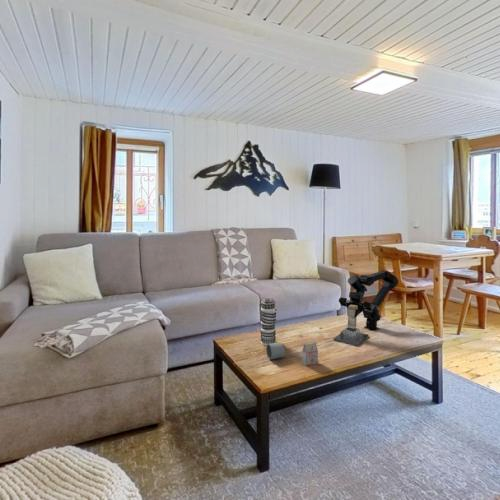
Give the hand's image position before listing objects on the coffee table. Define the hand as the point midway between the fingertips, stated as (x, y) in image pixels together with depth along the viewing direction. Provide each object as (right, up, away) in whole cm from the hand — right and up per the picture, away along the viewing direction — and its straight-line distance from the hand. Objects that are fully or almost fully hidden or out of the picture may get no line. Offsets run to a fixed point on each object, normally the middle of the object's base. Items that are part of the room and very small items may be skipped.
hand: (351, 316), depth 188 cm
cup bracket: (+1, -13, +3) cm, 13 cm away
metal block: (+1, -6, +2) cm, 7 cm away
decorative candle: (-48, -14, -2) cm, 50 cm away
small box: (-29, -17, -27) cm, 43 cm away
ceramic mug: (-45, -17, -20) cm, 52 cm away
